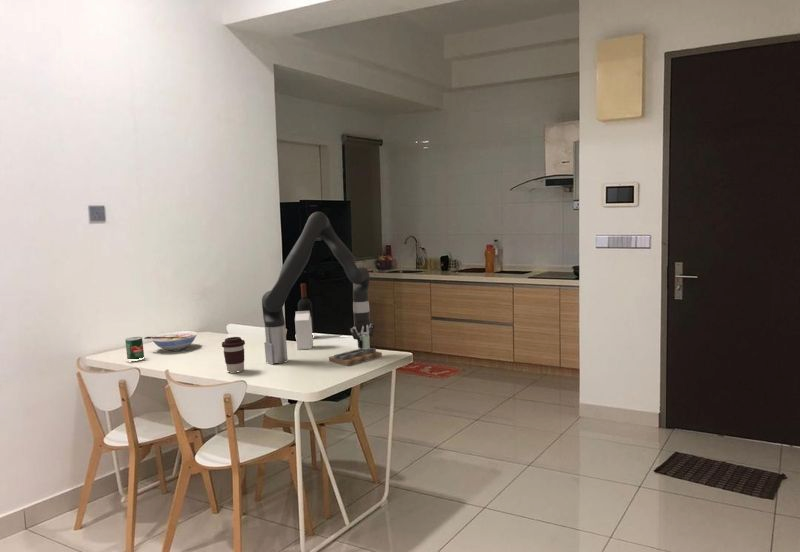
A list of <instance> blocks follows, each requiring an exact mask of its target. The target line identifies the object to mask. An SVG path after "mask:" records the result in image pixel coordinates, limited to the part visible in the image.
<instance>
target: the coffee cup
mask: <svg viewBox="0 0 800 552" xmlns="http://www.w3.org/2000/svg"><path fill="white" fill-rule="evenodd" d="M245 341H246V340H244V339H242V338H241V337H240V336H230V337H227V338H225V339H224V340H223V342H221V347H222V348H223V355H224V363H225V366H226V372H227V371H229V372H237V371H242V370H245V348H244V346H245V344H246V342H245ZM242 372H243V371H242Z"/></svg>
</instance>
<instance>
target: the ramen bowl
mask: <svg viewBox="0 0 800 552" xmlns="http://www.w3.org/2000/svg"><path fill="white" fill-rule="evenodd" d="M197 335H198V333H197V332H196V331H189V330H188V331H186V330H185V331H173V332H166V333H162V334H157V335H155V336H146V337H144V339H145V340H146V339H148V340H149V339H150V340H152V342H153V343H154V344H155V345H156V346H157V347H158V348H160V349H164V350H167V351H169V350H177V351H181V350H183V349H185V348H186V347H188V346H190V345H191V344H193V342H194V341H195V339H196V337H197Z"/></svg>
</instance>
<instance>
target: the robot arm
mask: <svg viewBox="0 0 800 552" xmlns="http://www.w3.org/2000/svg"><path fill="white" fill-rule="evenodd" d="M319 237H320V238H321V239H322V240H323V241H324V242H325V244H326V245H327V246H328V248H329V249H330V250H331V252H332V254H333V255H334V257H335V258H336V260H337V261H338V263H339V264H340V265H341V266H342V268H343V271H344V272H345V274H346V277H347V278H348V280H349V281H350V282H351V283H353V284H354V285H355V288H354V289H353V290H352V311H353V321H354V325H353V327H350V328H349V331H350V333H351V336H352V338H353V340H356V341H357V348H358V347H359V348H363V343H362V335H366V336H369V339H370V338H372V337H373V335H374V331H375V327H376V324H374V323H371V322H370V320H371V313H370V311H371V310H370V303H369V293H368V291H369V286H370V285H369V284H370V273H369V271H368V269H367V267H366V268H365V267H363V266H362V267H358V266H357V264H356V262H357V259H356V257H355V256H354V255H353V254H354V253H352V252H351V250H350V249H349V248H348V247H347V245H346V244H345V243H344V242H343V241H342V240H341V239H340V238H339V236H338V234H337V233H336V231H335V230H334V228H333V227H332V225H331V222H330V219H329V218H328V217H327V215H326V214H325V213H324V212H322V211H315V212H313V213H311V214H310V215H309V217H308V218H307V220H306V223H305V225H304V228H303V230H302V232H301V234H300V235H299V237H298V239H297V240H296V242H295V244H294V245H293V247H292V249H290V252H289V254H288V255H287V256H286V259H285V260H284V263H283V265H282V266H281V270H280V273H279V277H278V278H277V281H276V282H275V284H274V286H273V287H272V288H271V289H270V290H268V291H266V292H265V293H264V294H263V295H262V298H261V305H262V306H261V307H262V317H263V322H264V323H263V324H264V333H265V341H264V344H263V345H264V355H265V357H264V358H265V363H266V362H268V363H267V364H270V363H272V364H271V365H275V364H274V363H279V364H282V363H281V362H284V363H286V362H285V361H287V360H288V357H289V356H288V347H287V346H288V345H287V336H286V335H287V334H286V333H287V332H286V323H285V322H286V320H285V315H284V310H283V307H284V305H285V303H286V300H287V298H288V296H289V294H290V292H291V290H292V288H293V286H294V285H295V284H296V282H297V280H298V278H299V277H300V276H301V275H302V273H303V270H304V269H305V267H306V266H307V264H308V261H309V260H310V256H311V255H312V249H313V247H314V244H315V242H316V241H317V239H318V238H319ZM287 362H288V361H287Z"/></svg>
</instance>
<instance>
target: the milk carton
mask: <svg viewBox="0 0 800 552" xmlns="http://www.w3.org/2000/svg"><path fill="white" fill-rule="evenodd" d="M294 324H295V325H294V326H295V327H294V328H295V339H296V340H295V341H296V349H297V351H300V350H311V349H312V348H313V347H314V338H313V335H312V322H311V315H310V311H298V310H297V311H295V316H294Z"/></svg>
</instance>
